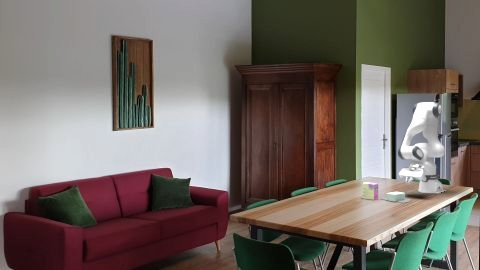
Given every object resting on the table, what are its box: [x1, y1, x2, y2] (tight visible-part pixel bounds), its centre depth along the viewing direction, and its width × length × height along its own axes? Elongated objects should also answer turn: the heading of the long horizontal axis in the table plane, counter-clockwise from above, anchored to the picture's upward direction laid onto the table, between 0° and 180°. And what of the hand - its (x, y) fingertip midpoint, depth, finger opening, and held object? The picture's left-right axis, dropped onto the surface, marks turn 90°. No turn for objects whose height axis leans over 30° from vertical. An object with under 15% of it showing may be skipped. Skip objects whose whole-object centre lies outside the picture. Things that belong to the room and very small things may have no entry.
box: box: [361, 181, 379, 201], centre depth 387 cm, size 10×6×12 cm, turn 41°
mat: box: [380, 197, 412, 204], centre depth 380 cm, size 10×20×1 cm, turn 37°
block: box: [385, 191, 406, 203], centre depth 379 cm, size 5×8×12 cm
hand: (407, 182), depth 388 cm, fingers closed
